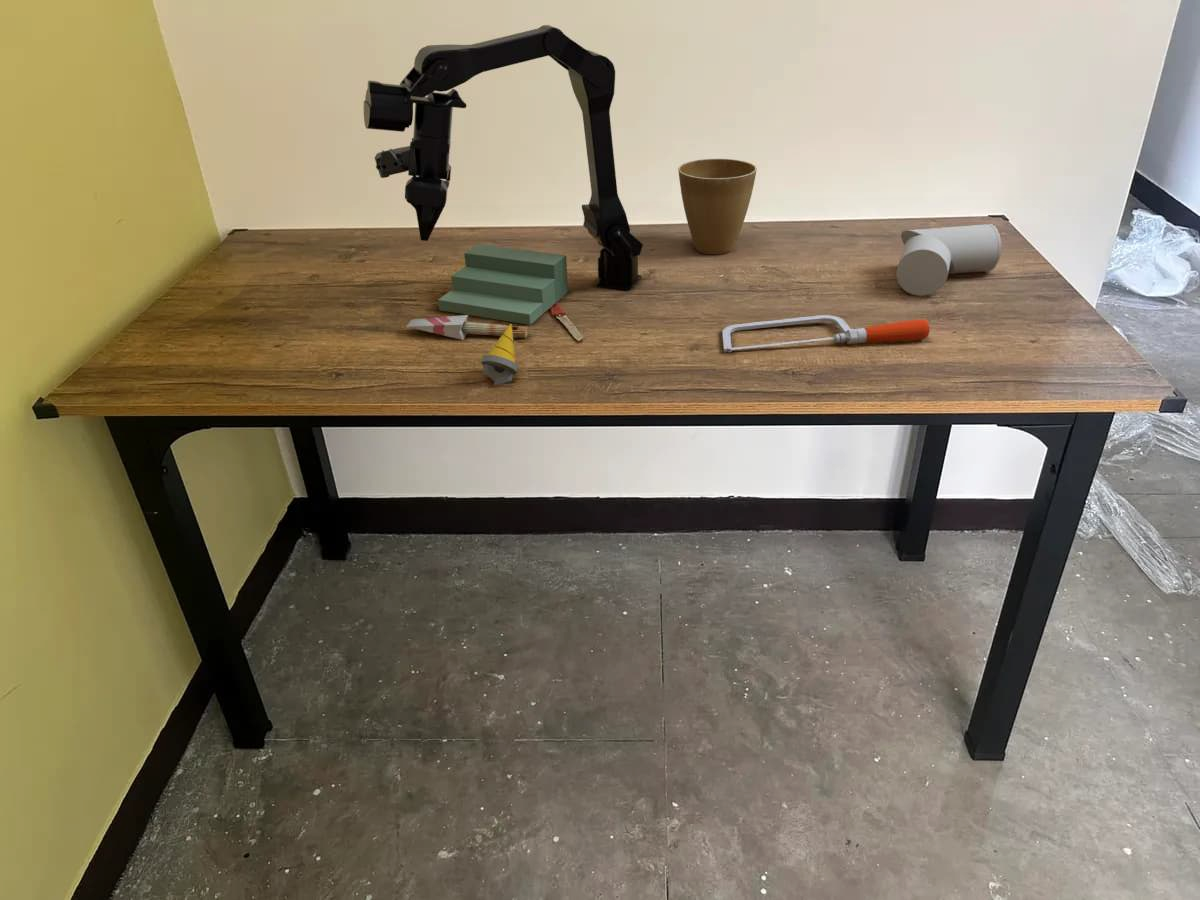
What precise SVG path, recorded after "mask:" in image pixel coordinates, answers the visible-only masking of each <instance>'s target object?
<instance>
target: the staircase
mask: <svg viewBox="0 0 1200 900" xmlns="http://www.w3.org/2000/svg"><path fill="white" fill-rule="evenodd" d="M463 256H464V262H465V263H464V264H465V266H464V267H462V268H461V269H460V270H458V271H457V272H455V273H454V274H452V275H451V285H452V289H451V290H450V291H448V292H447V293H446V294H444V295H443V296H441V297H440V298H438V299H437V304H438V310H439V311H442V312H449V313H454V314H460V315H468V316H473V317H480V318H484V319H491V320H496V321H504V322H510V323H516V324H522V325H526V326H527V325H528V326H531V325H532V324H533V323H534V322H536V321H537V320H538V319H539V318H540V317H541V316H542V315H544V314H545V313H546V312H547V311H548V310H550V309H551V308H552V307H553V306H554V305H555V304H556V303H558V301H560V300H561V299H562V298H563V297H564V296H565V295H567V294H568V293H569V285H568V283H569V282H568V266H567V264H568V263H567V255H565V254H558V253H550V252H544V251H543V252H542V251H534V250H527V249H520V248H514V247H513V248H511V247H504V246H497V245H490V244H489V245H488V244H482V243H481V244H480V243H477V244H476V245H474V246H472V247H471V248H470V249H468V250H467V251H465V252H464V254H463Z"/></svg>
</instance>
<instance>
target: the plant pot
mask: <svg viewBox="0 0 1200 900" xmlns="http://www.w3.org/2000/svg"><path fill="white" fill-rule="evenodd" d="M757 169H758V168H757V165H755V164H753V163H751V162H749V161H745V160H740V159H731V158H704V159H696V160H691V161H688V162H684V163H682V164H681V165H679V166H678V168H677V170H678V171H677V172H678V179H679V186H680V187H679V188H680V194H681V199H682V205H683V209H684V215H685V218H686V223H687V225H688V229H689V232H690V236H691V239H692V241H693V244H694V247H695V250H696V251H698V252H699V253H701V254H706V255H722V254H727V253H730V252H731V251H733V249H734V247H735V245H736V242H737V240H738V238H739V235H740V233H741V230H742V227H743V225H744V223H745V219H746V216H747V213H748V209H749V206H750V202H751V199H752V194H753V190H754V185H755V180H756V176H757Z"/></svg>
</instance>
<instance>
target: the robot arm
mask: <svg viewBox="0 0 1200 900" xmlns="http://www.w3.org/2000/svg"><path fill="white" fill-rule="evenodd" d="M545 57H550V58H551V59H552V60H553V61H555V62H556V63H557V64H558V65H560V66H561V67H562V68H563V69H565V70H566V71H567V72H568V77H569V81H570V84H571V87H572V91H573V94H574V96H575V98H576V101H577V103H578V105H579V107H580V110H581V114H582V121H583V131H584V139H585V147H586V149H585V150H586V155H587V156H586V157H587V165H588V166H587V167H588V172H589V173H588V174H589V182H590V183H589V184H590V191H591V194H590V195H591V196H590V199H589V203H588V204H587V203H586V204H582V205H581V210H582V213H583V224H582V226H583V227H584V228H585V229H586V230H587V232H588V233H589V235H590V236H591V237H592V238H594V239H595V240H596V241H597V244H598V245H599V246H601V247H602V248H601V249H599V257H598V258H597V277H598V279H599V280H598V281H597V282H596V286H598V287H605V288H610V289H611V288H612V289H617V290H618V289H619V290H626V291H629V290H631V289H632V288H633V287H634V286H635V285H636V284H637V283H638V282H639V281H641V279H642V275H641V274H639V256H640V255H641V254H642V253H641V252H642V250H643V246H644V244H643V243H642V242H641V241H640V240H638V239H637V238H636V237H635V236H634V235H633V234H632V233H631V227H630V224H629V221H628V216H627V213H626V210H625V207H624V206H623V204H622V201H621V199H620V196H619V193H618V184H617V176H616V174H617V173H616V166H615V165H616V164H615V153H614V145H613V133H612V125H611V124H612V123H611V114H610V113H611V112H610V111H611V106H612V103H613V101H614V100H613V99H614V96H615V88H616V68H615V65H614V63H613V61H611V59H610V58H609V57H607V56H604V55H602V54H599V53H597V52H595V51H592V50H589V49H586V48H584V47H583V46H582V45H580V44H579V43H577V42H576V41H574V40H573V39H571V38H570V37H569V36H567V35H566V34H565V33H564V32H563V31H562V30H561V29H560V28H558V27H555V26H553V25H550V24H544V25H541V26H539V27H538V28H534V29H530V30H526V31H521V32H517V33H513V34H509V35H506V36H501V37H497V38H493V39H488V40H484V41H480V42H477V43H473V44H429V45H425V46H423V47H422V48H420V49H419V50H418V52H417V54H416V55H415V58H414V62H413V65H414V66H412V67H411V69H410V71H409V72H408V73H407V74H406V75H405V77H403V79H402V80H401V81H400V82H399V84H392V83H383V82H380V81H377V80H370V79H369V80H368V81H367V89H366V90H365V91H366V92H365V96H364V97H365V100H363V121H364V127H365V129H367V130H368V129H369V130H376V131H377V130H378V131H389V132H402V133H404V132H405V131H406V128H407V129H408V128H410V127H411V126H412V124H413V123H414V124H413V137H412V138H411V141H410V142H409V145H407V146H401V147H396V148H393V149H392V148H389V149H388V150H383V149H382V150H381V151H380V152H377V153H376V154H375V156H374V161H375V168H376V170H377V171H378V174H379V177H380V178H381V179H385V178H386V179H387V178H389V177H390V176H393V175H397V174H402V173H406V172H408V174H407V175H408V176H411V177H410V178H409V179H408V180H407V181H406V184H405V186H404V187H405V188H404V200H405V201H406V202H407V203H408V204H410V205H411V206H412V208H413V209H414V210H415V214H416V219H417V220H416V221H417V225H418V231H419V238H420V240H421V241H422V242H427V241H429V239H430V237H431V235H432V233H433V230H434V229H435V226H436V225H437V223H438V220H439V218H440V217H441V214H442V213H443V210H444V208H445V207H446V204H447V199H448V197H447V196H448V189H449V187H450V182H451V179H452V178H451V176H452V166H451V164H450V152H451V143H452V141H451V136H452V126H453V125H452V124H453V112H454V109H453V108H457V109H466V108H467V103H466V102H465V101H464V100H463V99H462V97H461V96H460V94H459V91H457V89H455V88H456V87H458V86H461V85H463V84H465V83H467V82H468V81H469V80H471V79H472V78H474V77H476V76H478V75H480V74H482V73H486V72H488V71H493V70H497V69H500V68H504V67H510V66H513V65H516V64H520V63H524V62H530V61H533V60H536V59H542V58H545ZM447 91H448V92H447ZM445 92H447V93H445ZM413 119H414V120H413Z"/></svg>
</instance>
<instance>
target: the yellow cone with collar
mask: <svg viewBox="0 0 1200 900" xmlns="http://www.w3.org/2000/svg"><path fill="white" fill-rule="evenodd" d="M507 326H508V328H507V329H506V330H505V332H504V333H503V334H504V335H502V336H499V339H498V340H497V341H496V342H495V344H494V345H493V346H492V347H491V349H490V350H489V352H488V353H487V354H484V355H483V356H482V359H481V365H482V368H481V372H482V373H484V375H486V376H487V377H488V378H490V379H491V380H492V381H493V386H497V385H502V384H506V383H510V382H512V380H513V376H514V375H515V374H516V373H517V371H518V368H519V366H518V364H517V363H516V357H515V345H514V336H513V332H512V326H513V324H512V323H510V324H509V325H507Z"/></svg>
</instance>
